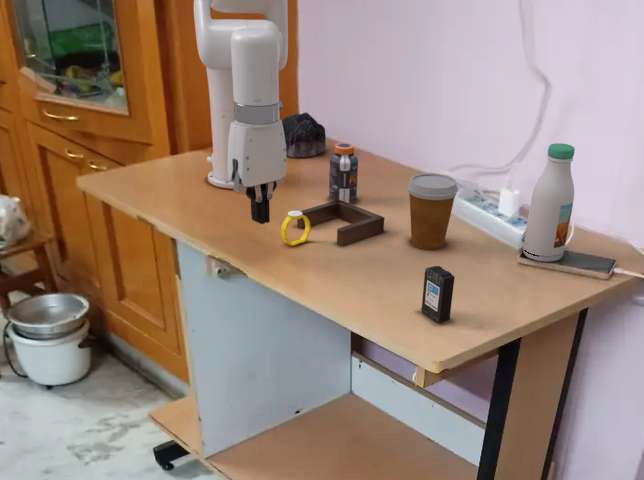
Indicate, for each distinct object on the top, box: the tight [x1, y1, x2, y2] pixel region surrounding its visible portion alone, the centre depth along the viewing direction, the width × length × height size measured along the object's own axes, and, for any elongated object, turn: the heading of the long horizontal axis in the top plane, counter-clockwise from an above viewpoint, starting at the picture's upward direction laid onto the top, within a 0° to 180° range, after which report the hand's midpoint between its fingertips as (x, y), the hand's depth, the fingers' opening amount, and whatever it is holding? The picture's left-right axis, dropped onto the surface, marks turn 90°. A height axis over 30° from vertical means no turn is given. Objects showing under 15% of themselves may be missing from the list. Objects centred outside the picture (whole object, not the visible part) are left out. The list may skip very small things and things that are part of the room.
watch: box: [280, 210, 312, 247], centre depth 159 cm, size 6×3×6 cm, turn 128°
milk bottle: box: [522, 142, 576, 263], centre depth 156 cm, size 8×8×20 cm
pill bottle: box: [328, 142, 359, 204], centre depth 178 cm, size 6×6×11 cm
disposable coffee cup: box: [406, 172, 459, 250], centre depth 160 cm, size 10×10×12 cm
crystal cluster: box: [281, 111, 327, 159], centre depth 205 cm, size 13×14×10 cm
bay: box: [296, 200, 385, 247], centre depth 167 cm, size 13×12×3 cm
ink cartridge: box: [420, 265, 456, 324], centre depth 137 cm, size 5×2×8 cm, turn 32°
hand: (260, 221), depth 152 cm, fingers closed
